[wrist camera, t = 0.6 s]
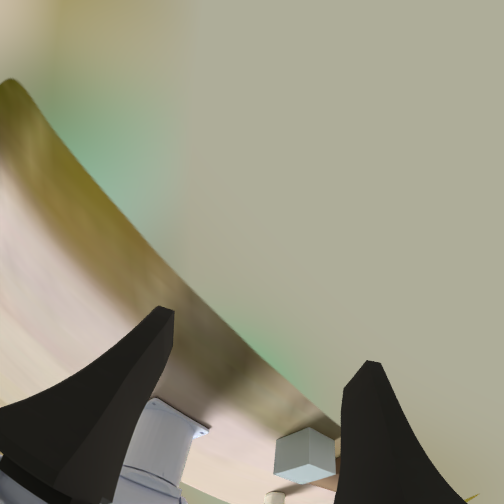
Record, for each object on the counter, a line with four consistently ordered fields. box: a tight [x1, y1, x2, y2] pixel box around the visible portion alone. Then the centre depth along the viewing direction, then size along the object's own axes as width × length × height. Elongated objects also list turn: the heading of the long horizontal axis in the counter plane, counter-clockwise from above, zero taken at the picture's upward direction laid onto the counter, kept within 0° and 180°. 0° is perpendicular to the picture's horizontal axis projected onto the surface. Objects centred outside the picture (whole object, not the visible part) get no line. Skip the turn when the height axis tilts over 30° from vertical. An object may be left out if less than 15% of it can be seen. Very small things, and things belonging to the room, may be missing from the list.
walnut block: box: [309, 457, 341, 492], centre depth 34 cm, size 9×9×3 cm
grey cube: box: [273, 427, 336, 485], centre depth 29 cm, size 5×5×5 cm
